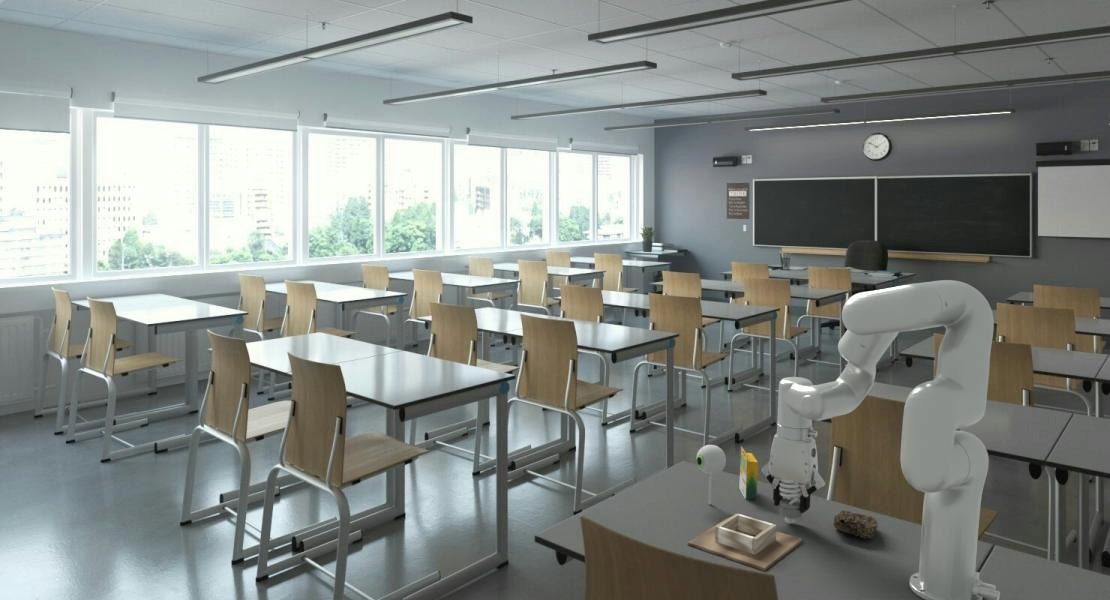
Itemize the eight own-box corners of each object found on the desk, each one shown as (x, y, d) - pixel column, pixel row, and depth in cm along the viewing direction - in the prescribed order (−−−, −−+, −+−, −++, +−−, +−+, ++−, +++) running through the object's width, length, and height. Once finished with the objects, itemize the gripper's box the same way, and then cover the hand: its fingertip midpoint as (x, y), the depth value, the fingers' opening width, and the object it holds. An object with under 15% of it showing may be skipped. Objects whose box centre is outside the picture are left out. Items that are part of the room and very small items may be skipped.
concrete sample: (870, 547, 170) (871, 525, 169) (823, 535, 176) (824, 513, 175) (886, 530, 179) (887, 509, 178) (841, 518, 185) (842, 498, 184)
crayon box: (757, 500, 196) (758, 455, 194) (745, 499, 196) (746, 455, 194) (750, 489, 203) (752, 445, 201) (738, 488, 203) (740, 445, 202)
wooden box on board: (802, 541, 172) (802, 524, 172) (764, 570, 159) (765, 552, 158) (728, 519, 184) (729, 502, 184) (687, 544, 171) (688, 527, 170)
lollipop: (689, 501, 195) (690, 443, 193) (713, 496, 198) (714, 439, 196) (706, 511, 188) (708, 451, 186) (730, 506, 191) (732, 447, 189)
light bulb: (804, 530, 178) (806, 479, 177) (778, 528, 179) (780, 477, 178) (801, 520, 184) (803, 470, 182) (776, 518, 185) (778, 469, 183)
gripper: (837, 435, 176) (834, 512, 178) (766, 421, 187) (764, 493, 189) (824, 443, 170) (820, 523, 173) (751, 428, 181) (749, 502, 184)
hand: (791, 506), depth 181 cm, fingers closed on light bulb, 5 cm apart
